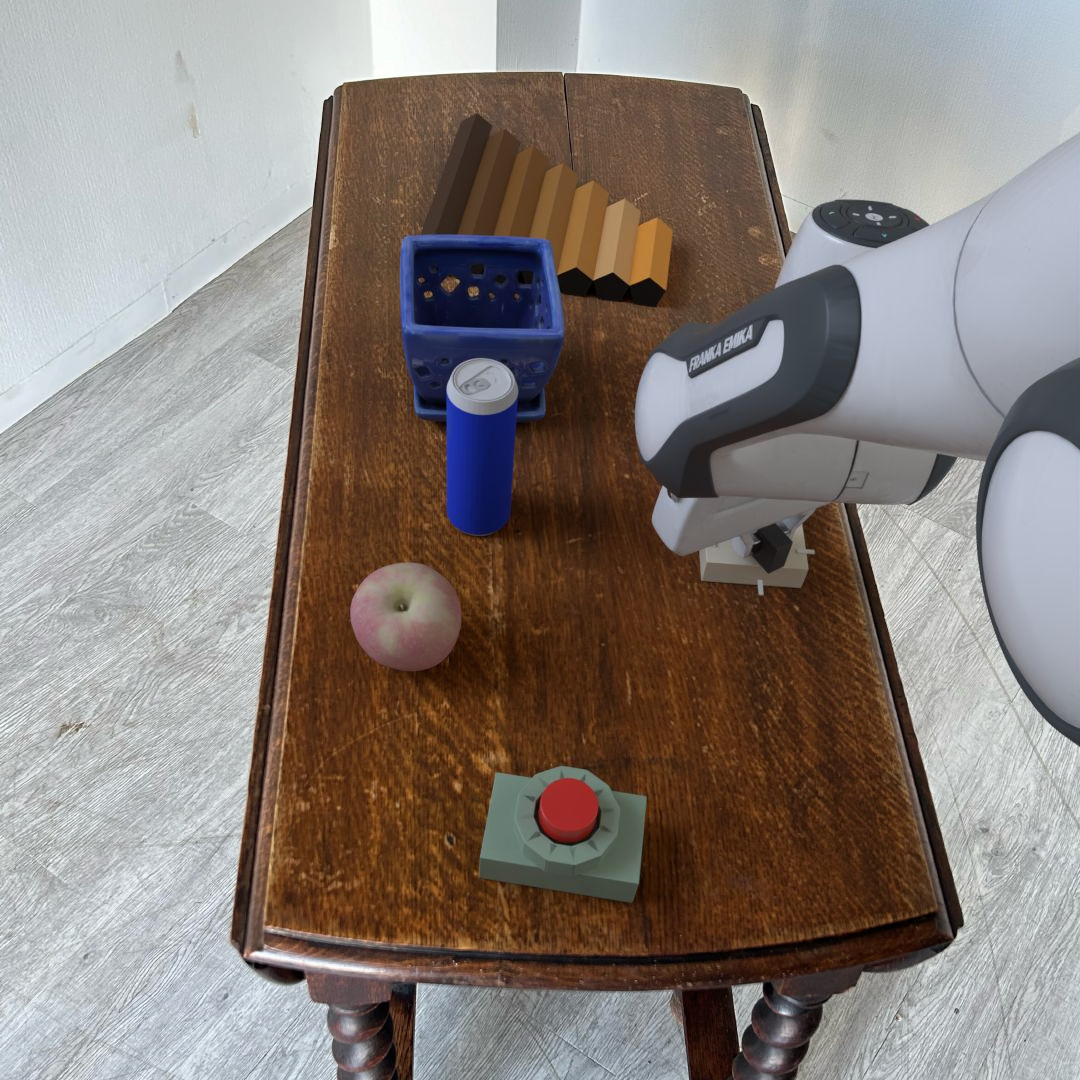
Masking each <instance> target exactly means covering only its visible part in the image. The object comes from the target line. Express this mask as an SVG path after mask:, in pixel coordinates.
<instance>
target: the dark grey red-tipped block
mask: <svg viewBox="0 0 1080 1080" xmlns="http://www.w3.org/2000/svg"><path fill="white" fill-rule="evenodd" d="M755 533H756V534H758V535H759V536H760V537H761V538H762V540H763V543H762V546H761V547H760V548H759V549H760V551H759V552H758V553H756V554H753V555H752V556H753V557H754V559H755V560H756V561H757V562H758V563H759V564H760V565H761V566H762V568H763V569H764V570H765V571H766V572H767V573H768V574H769V573H771V572H773V571H775V570H777V569H779V568H781V567H784V565H785V562H786V560H787V557H788V554H789V552H790V549H791V546H792V544H793V542H792V540H791V539H790V538H789V537H788V536H787V535H786V534H785V533H784V532H783V531H782V530H781V529H780V528H779V526H778V525H777V524H776V523H774V524H771V525H769V526H766V527H763V528H760V529H758V530H757V532H755Z"/></svg>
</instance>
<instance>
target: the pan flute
mask: <svg viewBox="0 0 1080 1080" xmlns="http://www.w3.org/2000/svg"><path fill="white" fill-rule="evenodd" d="M492 129H493V125H492V124H491V123H490V122H489V121H488V120H487V119H485V118H484V117H483V116H481V115H480V114H479V113H478V112H476V113H474V114H472V115H470V116H468V117H467V118H464V119H463V120H461V121H460V123H459V126H458V129H457V132H456V134H455V137H454V140H453V142H452V146H451V148H450V151H449V154H448V156H447V159H446V162H445V165H444V168H443V170H442V174H441V176H440V179H439V182H438V185H437V187H436V190H435V193H434V195H433V198H432V201H431V204H430V207H429V209H428V211H427V215H426V218H425V221H424V224H423V227H422V229H421V232H420V234H419V235H484V236H511V237H528V238H541V239H546V240H549V241H550V243H551V245H552V249H553V255H554V262H555V267H556V273H557V278H558V283H559V288H560V292H561V295H569V296H577V297H582V298H583V297H586V294H587V293H588V291H589V289H590V287H591V286H592V283H593V285H594V289H595V293H596V297H597V299H598V300H606V301H611V302H619V303H620V302H621V301H622V300H623V298H624V296H625V294H626V293H627V291H628V289H630V293H631V294H630V295H631V298H632V302H633V305H640V306H647V307H654V308H657V306H658V304H660V301H661V300H662V298H663V297H664V295H665V293H666V292H667V287H668V277H669V270H670V269H669V268H670V260H671V252H672V242H673V233H674V230H673V229H672V228H671V227H670V226H669V225H668V224H666V223H665V222H664V221H663V220H662V219H661V218H659V217H655V218H652V219H650V220H648V221H646V222H643V223H641V224H640V219H641V213H642V212H641V210H640V209H638V208H637V207H636V206H635V205H634V204H633V203H632V202H630V201H629V200H627V198H623V199H621V200H618V201H615V203H612V204H610V205H608V204H609V203H608V202H609V197H610V192H608V191H607V190H606V189H605V188H604V187H603V186H601V185H600V184H599V183H598V182H596V181H595V180H591V181H589V182H587V183H585V184H583V185H581V186H579V187H578V182H579V178H580V177H579V174H578V173H576V172H575V171H574V170H573V169H572V168H571V167H569V166H568V165H567V164H566V163H564V162H561V163H560V164H558V165H555V166H554V167H552V168H550V169H548V164H549V161H550V158H549V157H548V156H547V155H546V154H544V153H543V152H542V151H541V150H540V149H539V148H537V147H536V146H535V145H532V146H530V147H528V148H526V149H524V150H522V151H520V152H519V148H520V145H521V141H520V140H519V139H517V138H516V137H515V136H514V135H513V134H512V133H510V132H509V131H508V130H507V129H505V128H503V129H501V130H499V131H498V132H496V133H494V134H492V135H491V131H492ZM490 135H491V136H490ZM518 152H519V153H518ZM431 268H432V269H436V266H431ZM471 271H472V273H473V274H480V275H482V274H483V271H484V265H483V264H476V265H472V266H471ZM520 273H521V275H522V278H523V281H524V284H532V281H533V272H532V271H519V272H518V273H517V276H518V277H519V275H520ZM454 278H455V279H457V278H456V277H454ZM457 280H458V279H457ZM505 280H506V278H505V277H504V276H502V275H498V276H497V277H496V278H495V281H496V282H498V283H499V284H502V283H504V282H505Z"/></svg>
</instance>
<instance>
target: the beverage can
mask: <svg viewBox="0 0 1080 1080" xmlns="http://www.w3.org/2000/svg"><path fill="white" fill-rule="evenodd" d="M517 403H518V386H517V383H516V381H515V378H514V375H513V373H512V372H511V370H510V369H509V368H508V367H506V366H505V365H504V364H502V363H500V362H498V361H495V360H492V359H485V358H476V359H471V360H467V361H465V362H463V363H461V364H459V365H458V366H457V367H456V368H455V369H454V371H453V372H452V375H451V377H450V379H449V381H448V384H447V422H446V514H447V518H448V520H449V521H450V523H451V524H452V526H453V527H455V528H456V529H457V530H459V531H460V532H462V533H464V534H466V535H470V536H474V537H485V536H489V535H492V534H494V533H496V532H498V531H499V530H501V529H503V528H504V526H505V525H507V523H508V521H509V519H510V517H511V509H512V493H513V479H514V477H513V476H514V463H515V462H514V461H515V447H516V446H515V445H516V433H517V422H516V418H517Z"/></svg>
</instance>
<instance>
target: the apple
mask: <svg viewBox="0 0 1080 1080" xmlns="http://www.w3.org/2000/svg"><path fill="white" fill-rule="evenodd" d="M349 615H350V623H351V627H352V630H353V633H354V636H355V639H356V640H357V642H358V644H359V645H360V647H361V648H362V650H363V651H364V652H365V653H366V654H367V655H368V656H369V657H370V658H371V659H372V660H374V662H376V663H378V664H379V665H382V666H383V667H386V668H390V669H393V670H397V671H403V672H419V671H424V670H428V669H431V668H433V667H435V666H437V665H439V664H440V663H441V662H443V661H444V660H445V659H447V657H448V656H449V655H450V653H451V652H452V651H453V649H454V647H455V645H456V643H457V641H458V637H459V635H460V632H461V631H460V630H461V625H462V607H461V603H460V600H459V597H458V594H457V593H456V590H455V588H454V586H453V585H452V584H451V583H450V581H449V580H448V579H447V578H446V577H444V576H443V575H442V573H440V572H438V571H437V570H436V569H434V568H432V567H430V566H428V565H425V564H423V563H419V562H397V563H393V564H389V565H386V566H383V567H380V568H378V569H375V570H374V571H373V572H371V573H370V574H369V575H367V576H366V577H365V578H364V579H363V581H362V582H361V583H360V584H359V586H358V587H357V590H356V591H355V593H354V595H353V596H352V599H351V604H350V611H349Z"/></svg>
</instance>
